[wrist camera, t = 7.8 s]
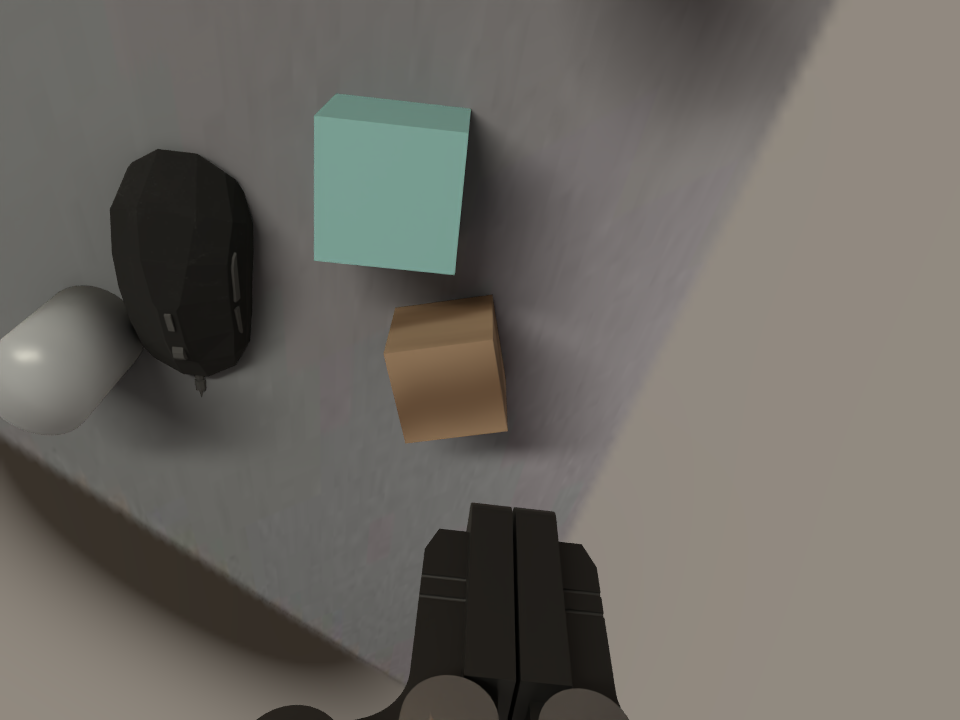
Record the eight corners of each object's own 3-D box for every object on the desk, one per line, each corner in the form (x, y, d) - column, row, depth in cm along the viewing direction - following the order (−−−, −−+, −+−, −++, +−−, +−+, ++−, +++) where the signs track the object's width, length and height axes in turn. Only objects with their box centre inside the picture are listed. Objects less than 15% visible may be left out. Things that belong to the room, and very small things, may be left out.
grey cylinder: (38, 280, 38) (-35, 334, 33) (138, 291, 38) (83, 346, 33) (53, 366, 40) (-11, 429, 35) (148, 375, 41) (98, 440, 35)
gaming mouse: (149, 405, 42) (119, 447, 39) (116, 138, 35) (75, 160, 31) (262, 416, 42) (242, 459, 39) (253, 153, 35) (227, 177, 32)
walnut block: (395, 307, 38) (383, 354, 34) (492, 294, 38) (492, 339, 34) (414, 389, 41) (405, 443, 37) (505, 378, 40) (507, 431, 36)
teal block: (336, 93, 33) (314, 115, 29) (471, 108, 34) (468, 132, 29) (334, 222, 36) (313, 260, 32) (458, 235, 37) (454, 275, 32)
